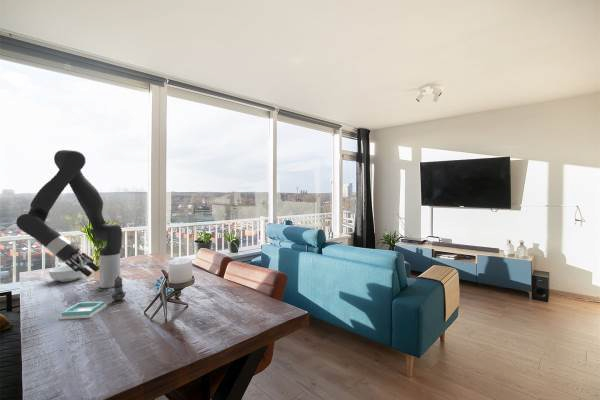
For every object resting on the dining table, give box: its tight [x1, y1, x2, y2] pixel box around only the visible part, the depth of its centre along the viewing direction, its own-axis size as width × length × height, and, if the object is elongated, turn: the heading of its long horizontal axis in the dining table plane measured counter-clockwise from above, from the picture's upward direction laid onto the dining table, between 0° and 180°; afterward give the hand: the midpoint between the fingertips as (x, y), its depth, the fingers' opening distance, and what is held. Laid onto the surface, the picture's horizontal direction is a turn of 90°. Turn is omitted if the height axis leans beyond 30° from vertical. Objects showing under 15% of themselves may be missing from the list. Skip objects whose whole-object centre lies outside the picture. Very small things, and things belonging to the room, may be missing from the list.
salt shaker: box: [110, 276, 127, 305], centre depth 131 cm, size 6×6×12 cm
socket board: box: [58, 301, 108, 320], centre depth 119 cm, size 12×12×2 cm
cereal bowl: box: [48, 265, 88, 283], centre depth 165 cm, size 17×17×7 cm
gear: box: [155, 276, 174, 293], centre depth 145 cm, size 11×6×10 cm
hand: (94, 272), depth 128 cm, fingers open, 8 cm apart
